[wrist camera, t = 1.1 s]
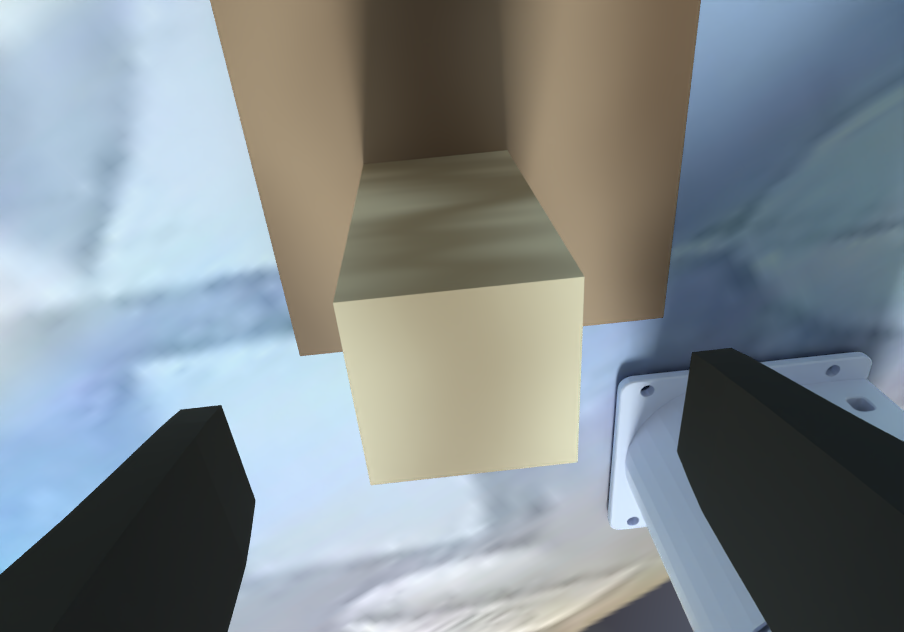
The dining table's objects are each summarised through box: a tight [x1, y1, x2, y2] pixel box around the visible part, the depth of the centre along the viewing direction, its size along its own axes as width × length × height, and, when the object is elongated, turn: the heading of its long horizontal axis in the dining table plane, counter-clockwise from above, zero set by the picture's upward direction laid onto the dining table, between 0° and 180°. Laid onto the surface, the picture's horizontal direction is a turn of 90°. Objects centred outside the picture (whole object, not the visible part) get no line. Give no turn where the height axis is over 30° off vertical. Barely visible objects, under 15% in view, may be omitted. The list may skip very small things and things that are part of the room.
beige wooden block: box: [333, 150, 584, 485], centre depth 14 cm, size 4×4×8 cm
